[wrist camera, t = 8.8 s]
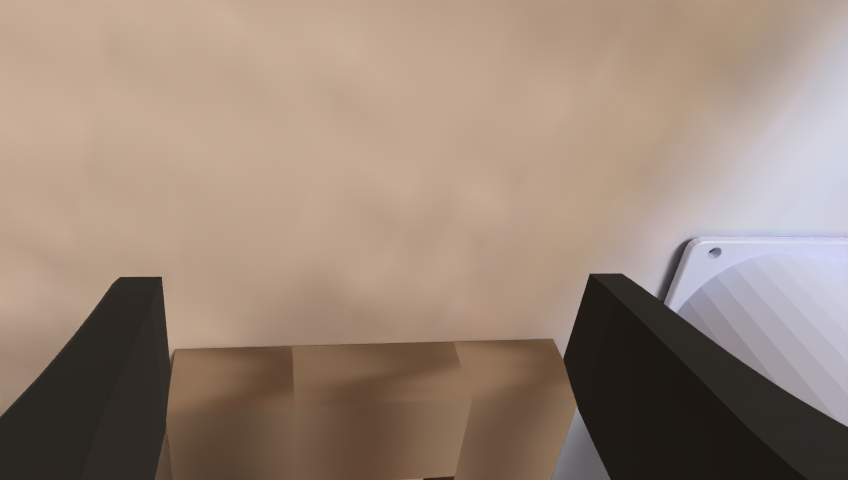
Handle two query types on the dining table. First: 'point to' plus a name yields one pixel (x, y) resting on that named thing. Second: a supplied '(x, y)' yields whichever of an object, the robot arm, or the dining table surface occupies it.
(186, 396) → the slot block
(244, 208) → the dining table surface
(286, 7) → the dining table surface
